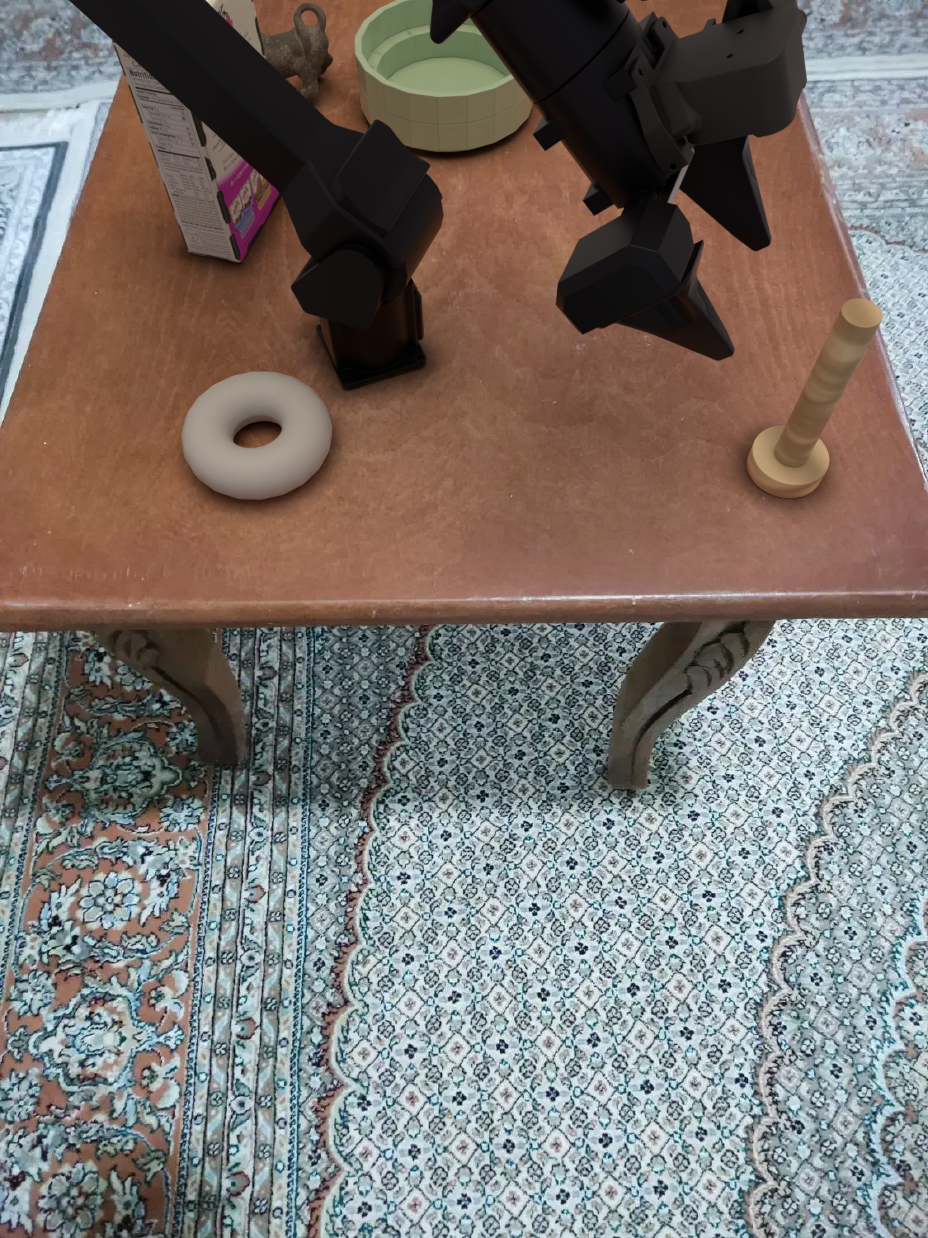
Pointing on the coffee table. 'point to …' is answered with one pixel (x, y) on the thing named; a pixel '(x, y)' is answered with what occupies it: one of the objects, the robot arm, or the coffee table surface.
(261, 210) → the candy bar box
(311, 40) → the dog figurine
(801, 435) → the post
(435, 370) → the coffee table surface
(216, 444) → the donut
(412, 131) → the bowl
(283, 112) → the robot arm
